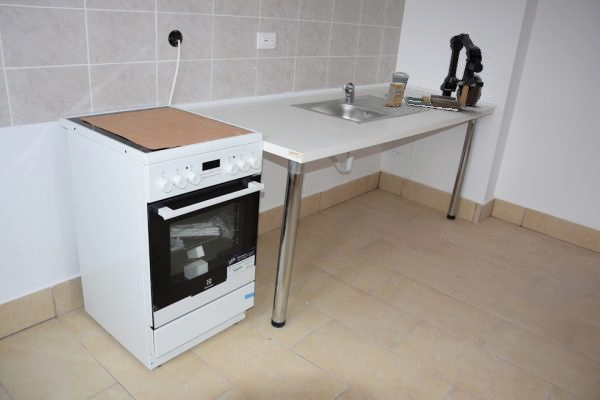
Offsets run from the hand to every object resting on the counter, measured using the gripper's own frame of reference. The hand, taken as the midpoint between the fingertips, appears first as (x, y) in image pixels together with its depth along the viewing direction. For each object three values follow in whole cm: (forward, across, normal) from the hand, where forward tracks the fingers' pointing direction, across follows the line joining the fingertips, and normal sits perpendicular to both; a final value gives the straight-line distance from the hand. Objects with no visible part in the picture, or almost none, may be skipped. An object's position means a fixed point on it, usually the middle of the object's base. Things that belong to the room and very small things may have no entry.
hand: (463, 96), depth 294 cm
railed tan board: (+8, -10, 0) cm, 13 cm away
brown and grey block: (+5, 0, 0) cm, 5 cm away
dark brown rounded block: (+8, +7, +17) cm, 20 cm away
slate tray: (+8, -24, 0) cm, 26 cm away
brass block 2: (+5, -19, -3) cm, 20 cm away
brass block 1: (+5, -19, +2) cm, 20 cm away
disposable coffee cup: (+8, -37, +15) cm, 41 cm away
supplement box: (+8, -41, -13) cm, 44 cm away
